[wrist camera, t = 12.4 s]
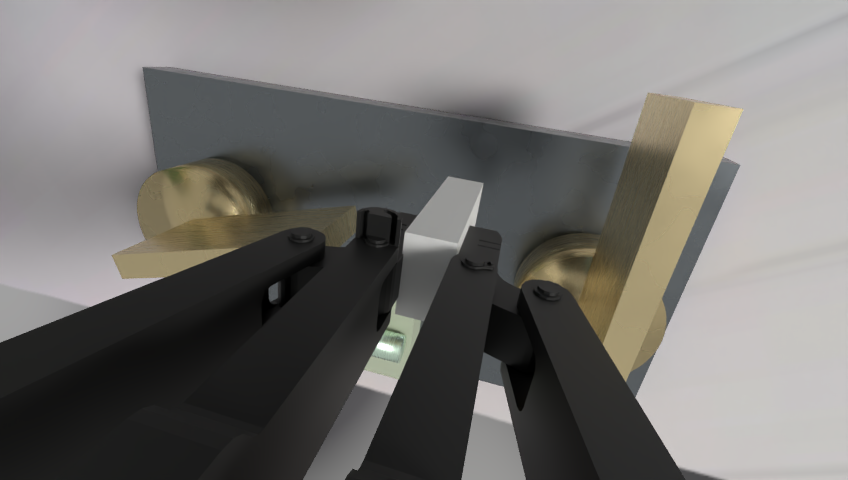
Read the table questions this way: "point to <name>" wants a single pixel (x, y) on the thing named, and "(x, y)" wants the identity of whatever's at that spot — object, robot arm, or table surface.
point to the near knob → (640, 227)
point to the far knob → (213, 218)
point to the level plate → (406, 171)
